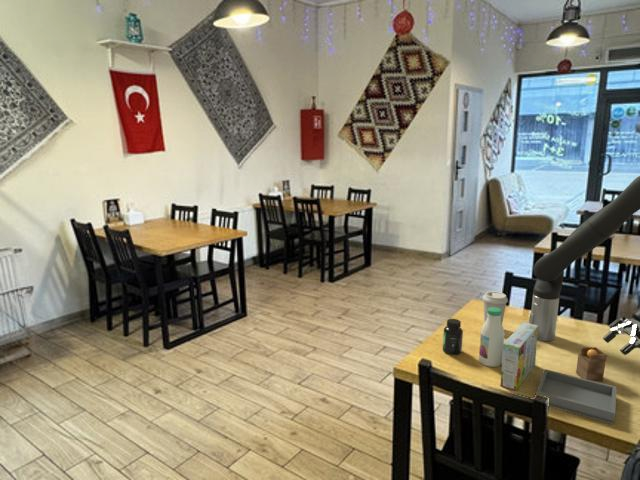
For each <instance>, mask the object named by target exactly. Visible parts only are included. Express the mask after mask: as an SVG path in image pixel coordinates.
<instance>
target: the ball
mask: <svg viewBox="0 0 640 480" xmlns="http://www.w3.org/2000/svg"><path fill="white" fill-rule="evenodd" d="M587 355H588V357H589V358H590V355H598V353H597V352H596V351H595V350H593V349H590V350H588V352H587Z"/></svg>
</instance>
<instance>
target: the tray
mask: <svg viewBox="0 0 640 480" xmlns="http://www.w3.org/2000/svg"><path fill="white" fill-rule="evenodd" d="M617 390H618V389H617V386H614V385H611V384H607V383H602V382H595V381H591V380H587V379H583V378H581V377H580V376H579V377H578V376H574V375H569V374H566V373H563V372H558V371H553V370H550V369H546V368H544V369H543V372H542V376H541V378H540V381H539V384H538V387H537V389H536V394H535V396H536V395H537V394H538V395H542V396H546V397H548V398H549V406H548V407H551V408H554V407H556V408H555V409H557V408H559V409H558V410H561V409H562V410H561V411H564V410H566V411H565V412H568V411H570V412H569V413H571V412H573V413H572V414H575V413H577V414H576V415H578V414H579V416H582V415H583V417H585V416H586V418H589V419H593V420H596V421H599V420H600V422H604V423H605V424H606V423H607V424H610V425H614V423H615V418H616V417H615V416H616V404H617V401H616V400H617Z"/></svg>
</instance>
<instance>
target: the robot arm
mask: <svg viewBox="0 0 640 480" xmlns="http://www.w3.org/2000/svg"><path fill="white" fill-rule="evenodd" d="M638 211H640V175H639V176H637V177H636V178H634V179H633V180H632V181H631V182H630V183H629V185H627V187H626V188H625V189H623V191H622V192H621V193H620V194H618V196H617V197H616V198H615V199H613V200H612V201H610V203H608V204H606V205H605V206H604V207H602V208H601V209H599V210H597V211H596V212H595V213H593V214H592V215H591V216H590V217H588V218H587V219H586V220H585V221H584V222H582V223H581V224H580V225H579V226H578V227H576V228H575V230H573V231H572V232H571V233H570V234H569V235H568V237H566V239H565V240H564V241H563V242H562V243H561V244H560V245H559V246H557V247H556V248H554V250H552V251H551V252H549V253H547V254H544V255H542V256H541V257H540V258H539V259H538V260H537V261H536V262H535V264H534V266H533V273H534V276H535V277H536V280H535V284H534V286H533V289H532V290H533V291H532V302H531V310H530V311H531V312H530V314H529V321H528V323H530V324H534V325H538V335H537V341H540V342H551V341H554V340H555V337H556V330H557V329H556V328H557V322H558V321H557V320H558V313H559V303H560V296H561V295H560V294H561V291H562V287H563V281H564V276H565V270H566V269H567V268H568V267H569V266H570V265H572V264H573V263H574V262H575V261H577V260H579V259H580V258H581V257H583V256H585V255H587V254H588V253H589V252H591V251H593V250H594V249H595V248H597V247H598V246H600V245H601V244H603V243H604V242H605V241H606V240H608V239H609V238H610V237H611V236H612V235H614V233H616V232H617V231H618V230H619V229H620V228H621V227H622V226H623V225H624V224H625V222H626V221H627V220H628V219H629V218H630V217H631V216H633V214H636V213H637V212H638ZM608 328H609V329H610V331H609V332H607V333H606V334H605V335H604V336H603V337H602V339H603V341H604V342H606V343H608V344H609V343H610V342H611V341H612V340H613V339H615V338H616V337H617V336H618V335H628V336H629V337H630V340H629V342H627V343H626V344H625V345H624V346H622V347H621V348H620V349H619V351H620V353H621V354H623V355H624V356H626V355H628V354H630V353H631V352H632V351H633V350H634V349H640V306H639V307H637V309H636V310H634V311H633V312H632V314H631V317H630V318H627V317H626V316H625V315H623V314H622V315H620V316H619V317H617V318H616V319H615V320H614V321H613V322H611V323H610V324H609V325H608Z"/></svg>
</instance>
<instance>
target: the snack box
mask: <svg viewBox="0 0 640 480" xmlns="http://www.w3.org/2000/svg"><path fill="white" fill-rule="evenodd" d="M537 335H538V325H534V324H530V323H529V322H525V321H524V322H522V323H521V324H520V325H519V327H518V328H516V330H515V331H514V332H513V333H512V334H511V335H510V336H509V337H508V338H507V339H506V340H504V344H503V357H502V364H501V373H500V386H501V387H504V388H507V389H510V390H512V391H517V390H518V389H519V387H520V386H521V385H522V383H523V382H524V381H525V379H526V378H527V376H528V375H529V374H530V373H531V371H532V370H533V368H534V367H535V366H536V362H537V360H536V359H537V357H536V356H537V344H538V340H537Z"/></svg>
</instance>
